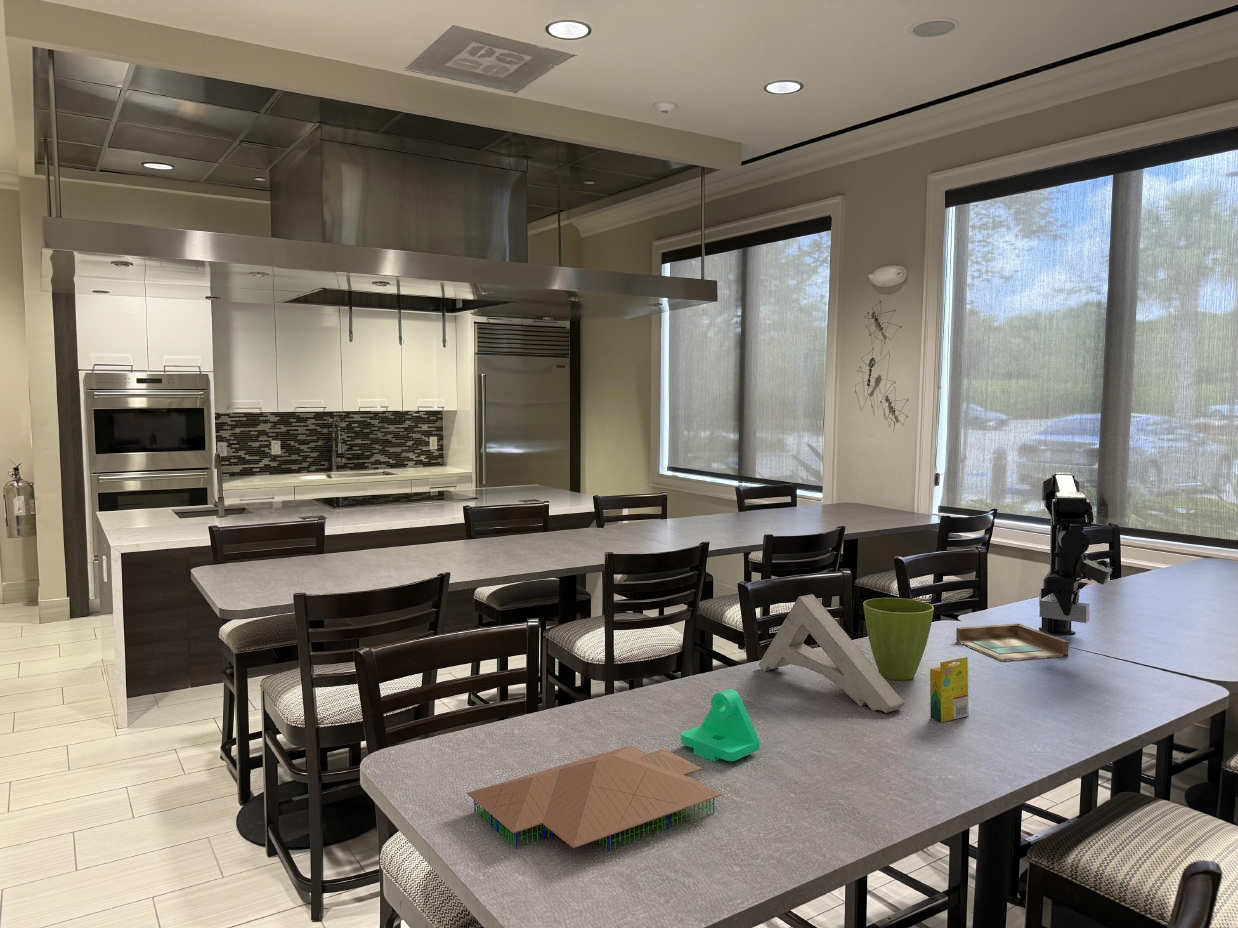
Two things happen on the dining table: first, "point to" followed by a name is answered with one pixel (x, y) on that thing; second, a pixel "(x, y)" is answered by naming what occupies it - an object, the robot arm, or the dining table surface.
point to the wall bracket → (843, 660)
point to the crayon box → (949, 690)
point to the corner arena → (1012, 642)
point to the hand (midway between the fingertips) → (1068, 613)
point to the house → (596, 796)
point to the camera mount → (724, 730)
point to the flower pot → (898, 634)
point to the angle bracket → (1053, 610)
